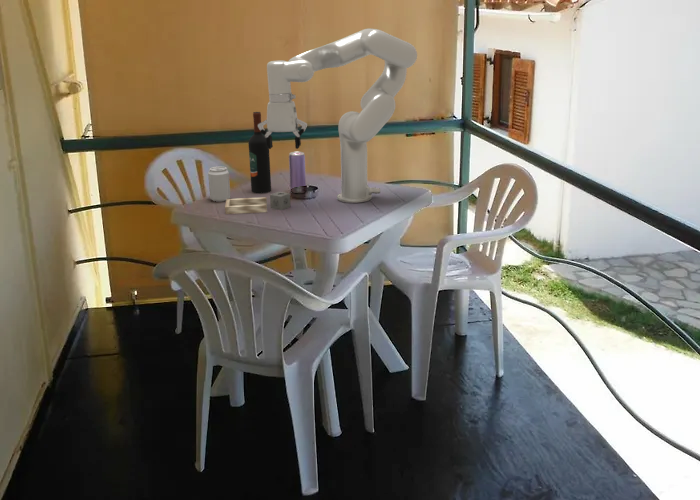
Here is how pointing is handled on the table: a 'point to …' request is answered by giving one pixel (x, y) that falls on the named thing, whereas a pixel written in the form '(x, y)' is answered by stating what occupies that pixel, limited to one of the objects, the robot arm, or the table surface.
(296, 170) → the beverage can
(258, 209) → the bay
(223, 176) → the can
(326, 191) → the table surface
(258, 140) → the wine bottle
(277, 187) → the table surface
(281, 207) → the dice cube
